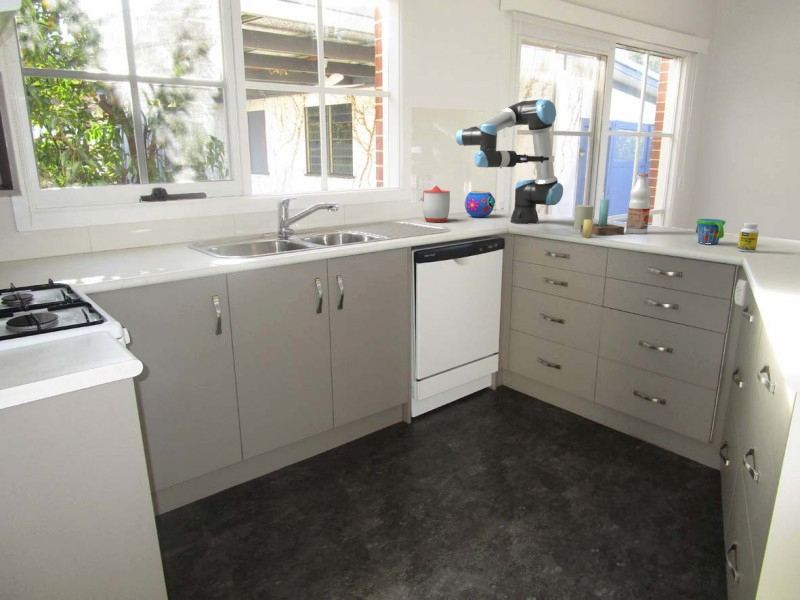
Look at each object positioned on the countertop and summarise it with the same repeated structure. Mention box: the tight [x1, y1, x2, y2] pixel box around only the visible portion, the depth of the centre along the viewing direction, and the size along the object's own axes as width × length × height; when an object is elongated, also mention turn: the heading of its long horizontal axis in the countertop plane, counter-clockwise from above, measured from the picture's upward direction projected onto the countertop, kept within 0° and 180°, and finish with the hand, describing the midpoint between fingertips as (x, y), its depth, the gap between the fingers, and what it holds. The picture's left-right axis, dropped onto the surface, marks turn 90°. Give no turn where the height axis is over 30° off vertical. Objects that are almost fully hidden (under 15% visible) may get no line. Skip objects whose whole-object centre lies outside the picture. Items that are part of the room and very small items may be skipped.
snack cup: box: [695, 218, 726, 245], centre depth 239 cm, size 16×10×10 cm
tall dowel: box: [597, 198, 610, 227], centre depth 269 cm, size 4×4×16 cm
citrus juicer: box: [419, 185, 451, 223], centre depth 313 cm, size 16×17×20 cm
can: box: [573, 204, 595, 230], centre depth 286 cm, size 9×9×12 cm
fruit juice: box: [626, 173, 652, 235], centre depth 268 cm, size 9×9×28 cm
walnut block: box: [580, 223, 625, 236], centre depth 271 cm, size 14×14×4 cm
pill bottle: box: [737, 222, 760, 253], centre depth 221 cm, size 6×6×11 cm
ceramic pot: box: [464, 190, 496, 218], centre depth 334 cm, size 18×18×15 cm
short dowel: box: [581, 219, 594, 239], centre depth 257 cm, size 4×4×8 cm
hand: (546, 158), depth 270 cm, fingers open, 13 cm apart
